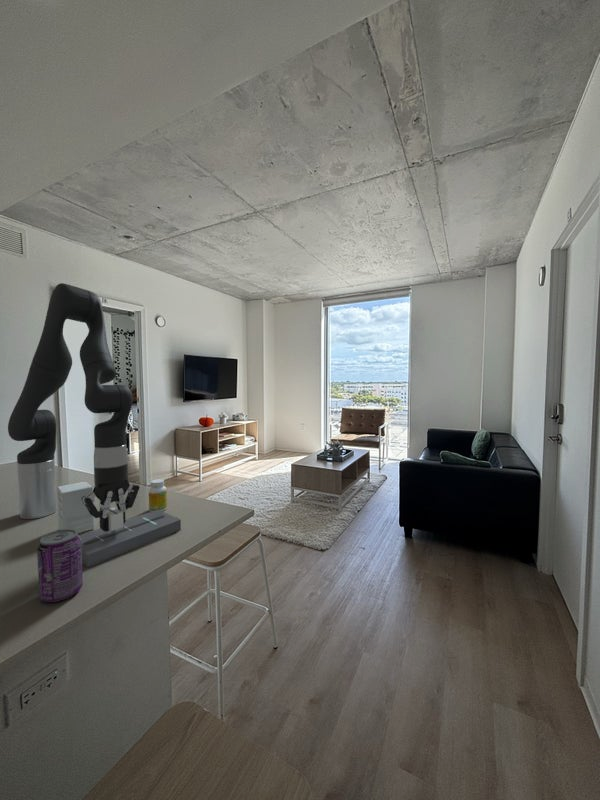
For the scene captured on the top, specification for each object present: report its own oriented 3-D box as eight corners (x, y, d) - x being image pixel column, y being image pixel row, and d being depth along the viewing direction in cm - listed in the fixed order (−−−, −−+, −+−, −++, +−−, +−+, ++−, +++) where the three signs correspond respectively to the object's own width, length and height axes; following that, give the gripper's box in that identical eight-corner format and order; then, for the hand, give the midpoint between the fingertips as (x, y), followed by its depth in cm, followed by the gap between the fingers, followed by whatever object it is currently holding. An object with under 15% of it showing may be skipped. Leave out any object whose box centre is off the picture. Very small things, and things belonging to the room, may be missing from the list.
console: (68, 551, 83) (67, 539, 82) (158, 519, 102) (157, 509, 102) (87, 567, 75) (87, 554, 75) (180, 529, 95) (180, 519, 94)
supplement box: (88, 521, 100) (86, 480, 99) (94, 529, 94) (93, 486, 94) (58, 529, 95) (56, 486, 94) (63, 538, 89) (61, 492, 89)
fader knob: (102, 531, 86) (102, 510, 85) (114, 527, 88) (114, 507, 88) (111, 537, 83) (110, 515, 82) (123, 532, 85) (123, 511, 85)
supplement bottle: (160, 513, 106) (159, 484, 105) (145, 512, 107) (144, 482, 106) (170, 507, 111) (169, 479, 111) (155, 505, 112) (155, 478, 112)
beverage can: (54, 583, 69) (52, 528, 69) (89, 582, 70) (88, 527, 69) (30, 606, 62) (27, 545, 62) (69, 604, 63) (67, 544, 62)
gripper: (131, 455, 92) (133, 515, 93) (74, 465, 81) (76, 534, 82) (145, 459, 88) (146, 522, 89) (86, 471, 76) (88, 543, 77)
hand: (112, 527), depth 85 cm, fingers closed on fader knob, 3 cm apart
